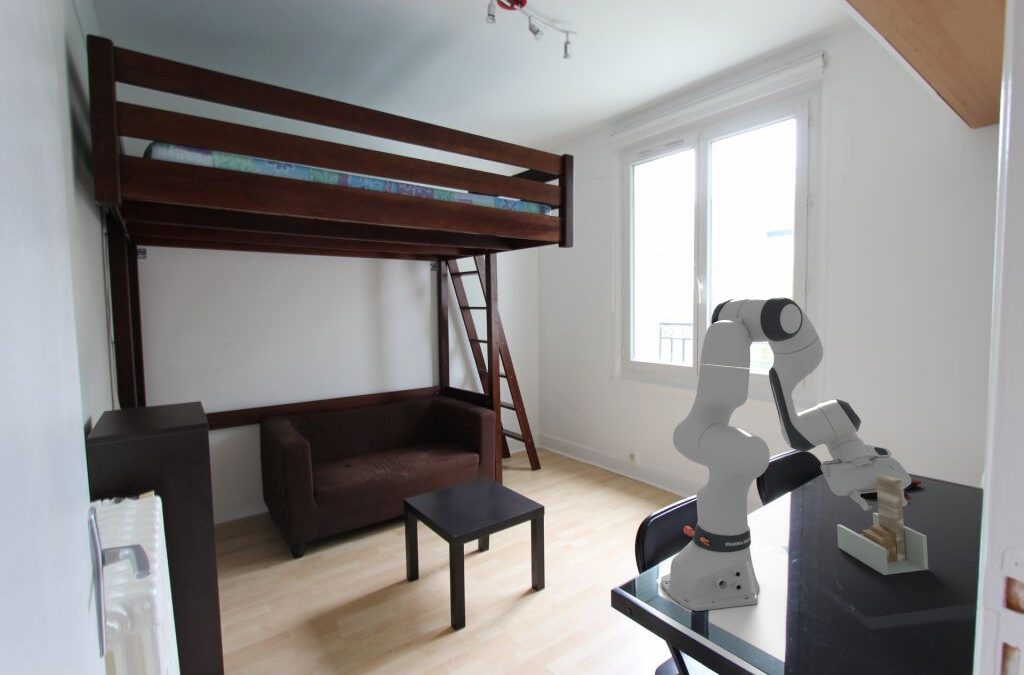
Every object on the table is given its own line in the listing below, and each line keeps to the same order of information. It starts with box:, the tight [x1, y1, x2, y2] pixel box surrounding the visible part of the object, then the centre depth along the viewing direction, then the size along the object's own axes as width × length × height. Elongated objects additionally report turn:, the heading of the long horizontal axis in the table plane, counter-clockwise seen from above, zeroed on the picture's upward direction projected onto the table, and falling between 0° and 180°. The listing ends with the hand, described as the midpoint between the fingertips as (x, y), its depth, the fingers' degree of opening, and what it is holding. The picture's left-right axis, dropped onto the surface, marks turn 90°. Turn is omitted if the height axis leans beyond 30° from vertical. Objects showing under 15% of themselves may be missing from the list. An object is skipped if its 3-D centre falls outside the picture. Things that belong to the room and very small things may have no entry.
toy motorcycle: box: [860, 478, 922, 499], centre depth 163 cm, size 25×5×16 cm
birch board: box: [876, 474, 905, 561], centre depth 119 cm, size 2×5×20 cm, turn 5°
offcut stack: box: [858, 524, 896, 563], centre depth 119 cm, size 6×6×7 cm
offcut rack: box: [836, 512, 929, 576], centre depth 119 cm, size 12×14×10 cm
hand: (886, 507), depth 120 cm, fingers open, 8 cm apart
